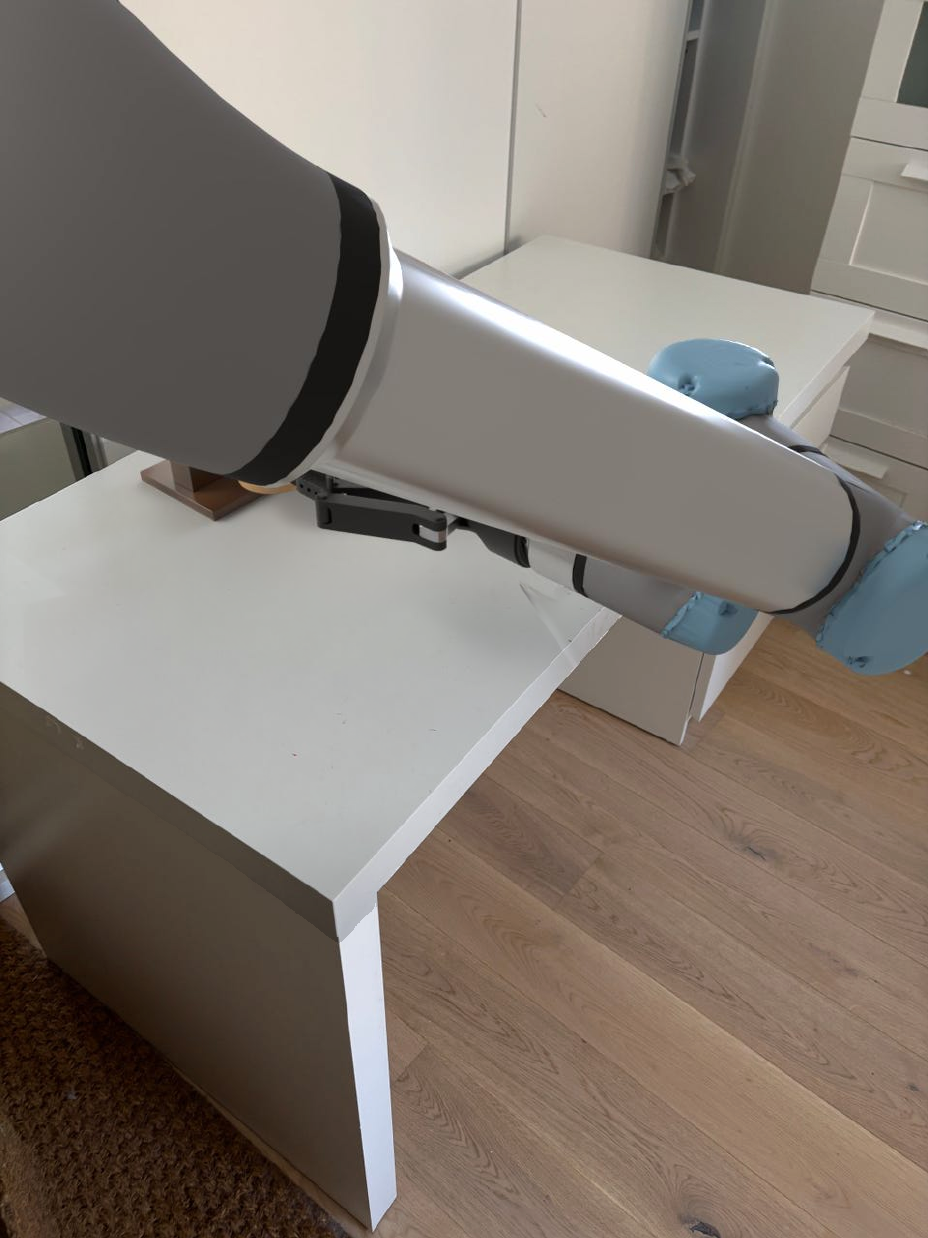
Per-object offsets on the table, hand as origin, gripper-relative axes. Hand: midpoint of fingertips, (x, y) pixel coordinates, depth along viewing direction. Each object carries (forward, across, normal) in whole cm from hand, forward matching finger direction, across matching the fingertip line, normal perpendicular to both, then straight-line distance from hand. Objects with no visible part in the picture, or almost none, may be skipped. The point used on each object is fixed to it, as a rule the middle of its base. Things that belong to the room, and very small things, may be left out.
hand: (339, 427), depth 79 cm
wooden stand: (+15, 0, -12) cm, 19 cm away
